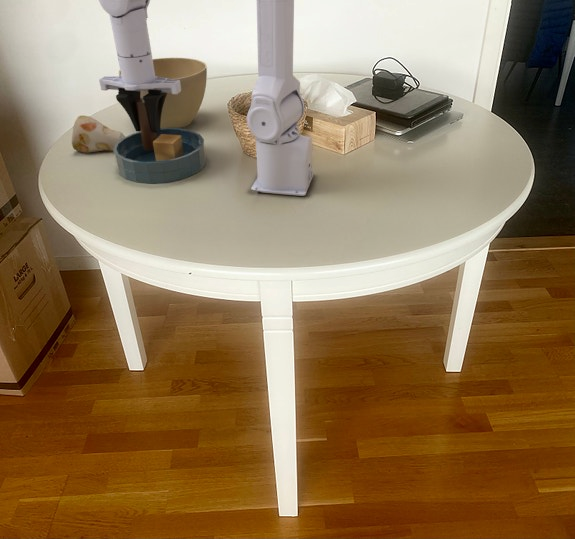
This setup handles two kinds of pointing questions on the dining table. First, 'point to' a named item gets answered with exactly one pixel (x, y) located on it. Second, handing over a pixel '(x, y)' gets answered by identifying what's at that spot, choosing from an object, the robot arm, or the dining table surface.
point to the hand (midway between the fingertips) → (148, 130)
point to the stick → (145, 125)
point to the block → (168, 147)
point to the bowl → (146, 169)
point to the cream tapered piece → (93, 136)
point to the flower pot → (189, 99)
